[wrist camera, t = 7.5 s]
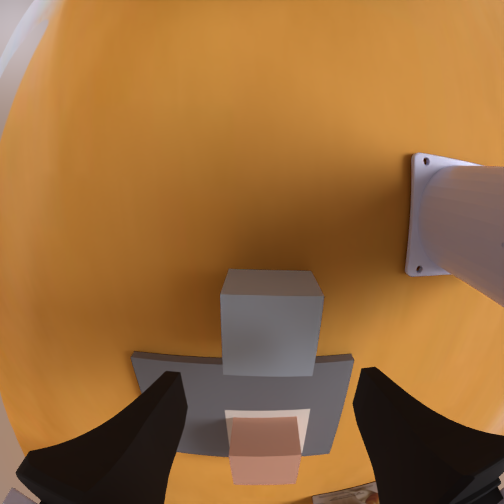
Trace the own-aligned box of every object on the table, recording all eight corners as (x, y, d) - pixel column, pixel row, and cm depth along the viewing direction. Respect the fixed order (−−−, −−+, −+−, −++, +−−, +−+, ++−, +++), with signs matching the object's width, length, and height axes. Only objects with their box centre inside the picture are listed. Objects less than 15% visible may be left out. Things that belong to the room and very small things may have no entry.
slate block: (310, 270, 17) (324, 296, 13) (303, 339, 18) (312, 376, 14) (229, 268, 17) (220, 294, 13) (230, 338, 18) (223, 374, 15)
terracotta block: (296, 416, 19) (301, 454, 15) (292, 449, 20) (295, 483, 17) (233, 417, 19) (228, 455, 15) (237, 450, 21) (234, 484, 17)
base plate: (351, 353, 18) (354, 360, 18) (327, 447, 21) (329, 453, 21) (134, 351, 19) (130, 357, 18) (165, 444, 22) (163, 449, 21)
